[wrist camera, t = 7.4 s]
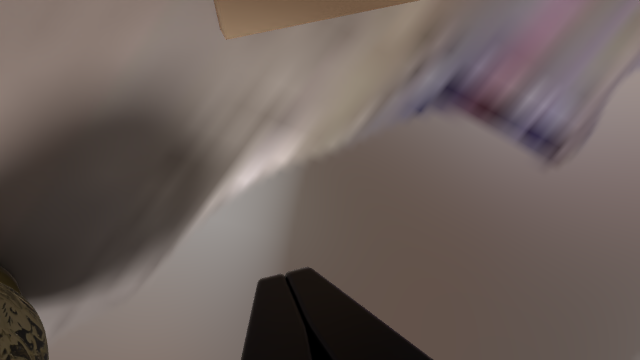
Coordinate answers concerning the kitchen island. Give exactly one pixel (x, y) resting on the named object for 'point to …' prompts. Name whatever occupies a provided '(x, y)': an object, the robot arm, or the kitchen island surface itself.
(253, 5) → the stand
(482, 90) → the kitchen island surface
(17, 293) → the cup
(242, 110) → the kitchen island surface
